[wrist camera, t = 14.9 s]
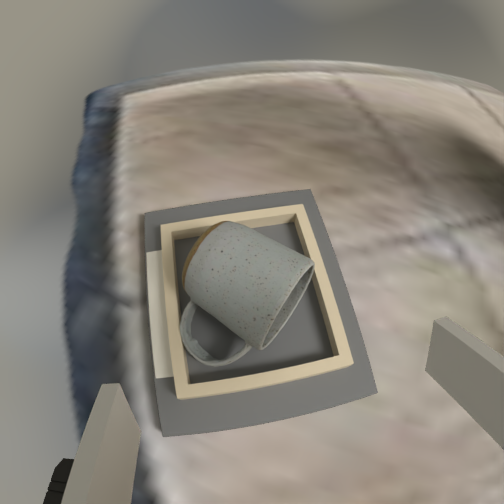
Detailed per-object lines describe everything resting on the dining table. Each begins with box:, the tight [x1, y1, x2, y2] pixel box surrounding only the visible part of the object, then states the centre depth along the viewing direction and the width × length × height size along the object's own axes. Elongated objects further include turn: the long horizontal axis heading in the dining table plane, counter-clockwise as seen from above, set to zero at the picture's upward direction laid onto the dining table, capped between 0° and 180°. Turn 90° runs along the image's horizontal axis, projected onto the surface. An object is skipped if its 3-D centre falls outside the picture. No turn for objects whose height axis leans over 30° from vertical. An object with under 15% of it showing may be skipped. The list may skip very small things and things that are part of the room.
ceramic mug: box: [180, 221, 315, 367], centre depth 23 cm, size 11×8×8 cm
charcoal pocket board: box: [145, 189, 378, 437], centre depth 28 cm, size 18×22×3 cm
